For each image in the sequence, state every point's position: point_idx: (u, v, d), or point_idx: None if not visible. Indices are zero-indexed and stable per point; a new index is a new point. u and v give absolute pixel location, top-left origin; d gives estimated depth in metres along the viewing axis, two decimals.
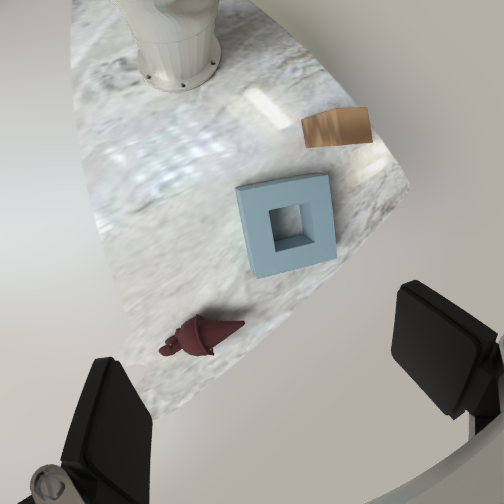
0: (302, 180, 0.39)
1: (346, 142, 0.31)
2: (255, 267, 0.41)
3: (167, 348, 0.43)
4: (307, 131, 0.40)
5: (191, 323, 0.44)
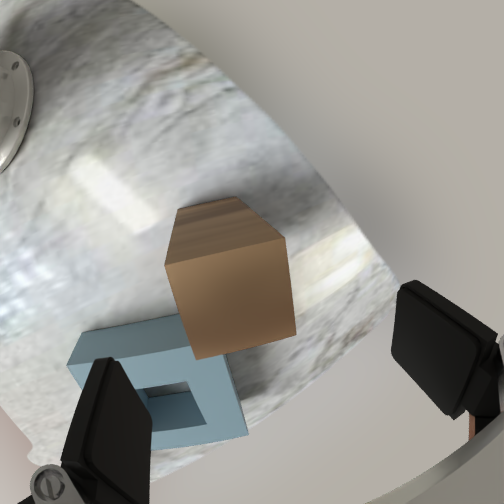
0: (165, 352, 0.19)
1: (208, 352, 0.12)
2: None
3: None
4: None
5: None
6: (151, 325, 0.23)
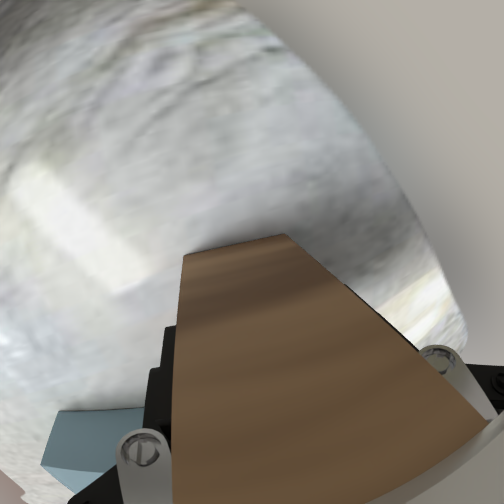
0: None
1: None
2: None
3: None
4: None
5: None
6: None
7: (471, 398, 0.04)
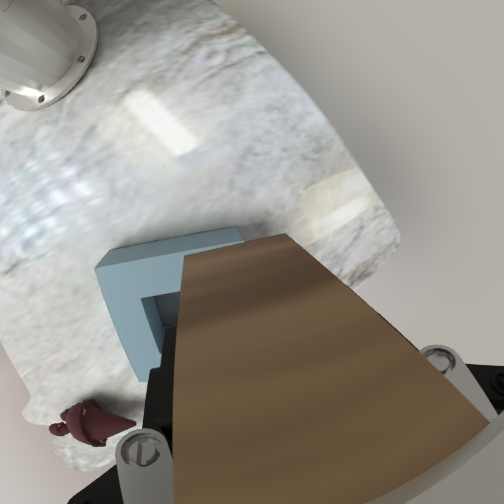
0: (194, 251, 0.23)
1: None
2: (134, 369, 0.25)
3: (54, 430, 0.26)
4: None
5: (76, 412, 0.27)
6: (179, 239, 0.26)
7: (471, 398, 0.04)
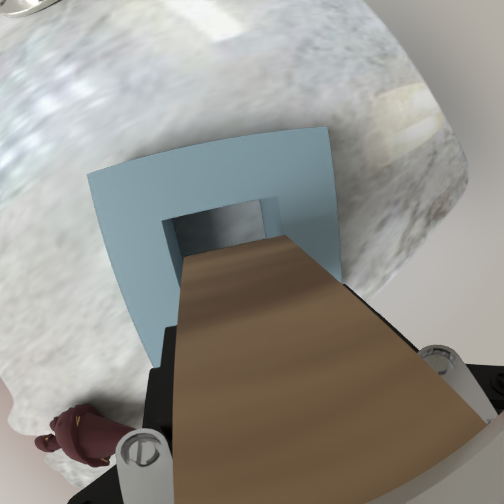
0: (255, 137, 0.14)
1: None
2: (148, 351, 0.16)
3: (41, 444, 0.18)
4: None
5: (67, 421, 0.19)
6: None
7: (471, 398, 0.04)
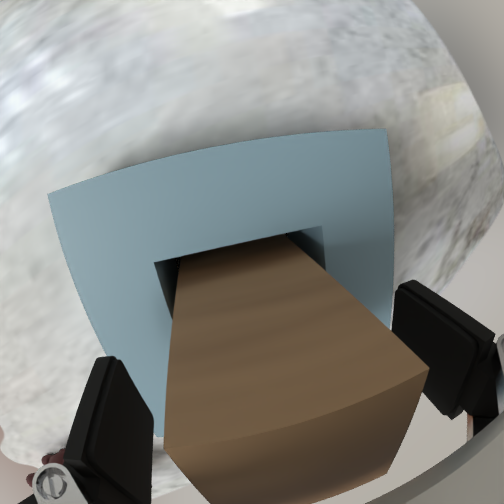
0: (292, 140, 0.09)
1: None
2: None
3: None
4: None
5: None
6: None
7: None
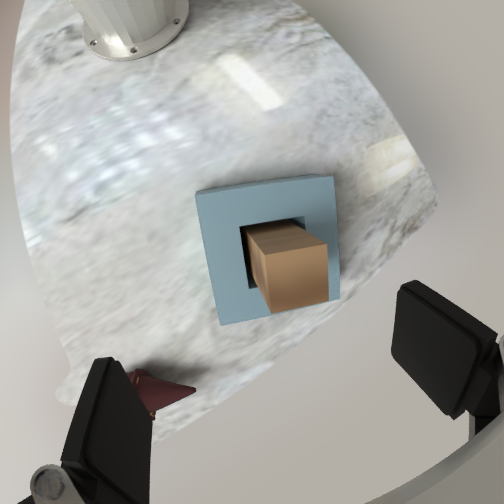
0: (293, 182, 0.25)
1: (279, 308, 0.21)
2: (218, 309, 0.28)
3: None
4: (245, 246, 0.30)
5: None
6: (268, 180, 0.29)
7: None
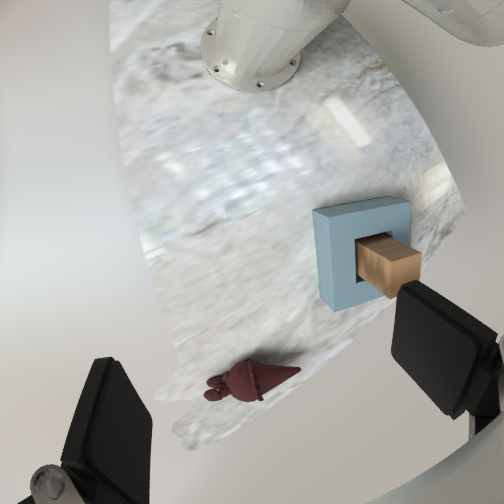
0: (388, 207, 0.34)
1: (394, 295, 0.29)
2: (334, 300, 0.36)
3: (215, 394, 0.37)
4: None
5: (245, 369, 0.39)
6: (363, 202, 0.37)
7: None
